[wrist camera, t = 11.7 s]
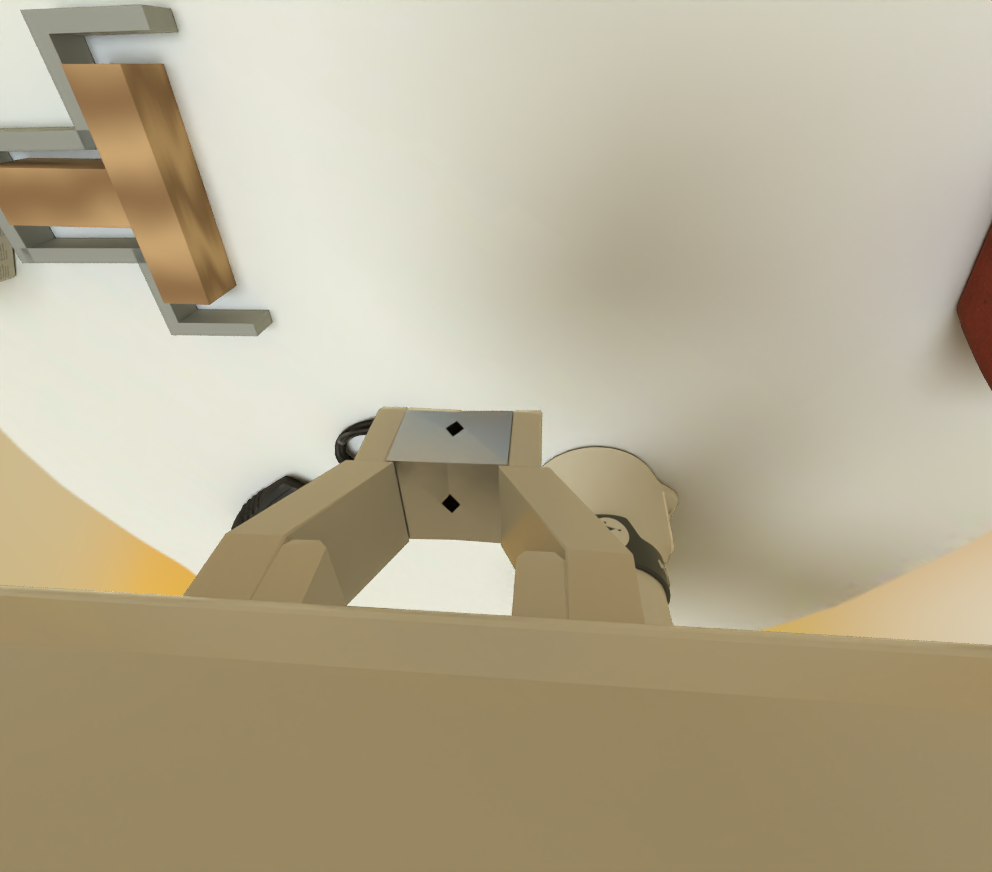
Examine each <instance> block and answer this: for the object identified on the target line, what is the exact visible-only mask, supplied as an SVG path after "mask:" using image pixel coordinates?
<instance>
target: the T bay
mask: <svg viewBox="0 0 992 872" xmlns="http://www.w3.org/2000/svg"><path fill="white" fill-rule="evenodd" d="M20 11H21V13H22V15H23V17H24V20H25V22H26V24H27V26H28V28H29V30H30V32H31V35H32V37H33V39H34V41H35V43H36V45H37V47H38V50H39V52H40V54H41V56H42V58H43V60H44V62H45V65H46V67H47V69H48V71H49V73H50V75H51V77H52V80H53V82H54V84H55V86H56V88H57V90H58V92H59V95H60V97H61V99H62V101H63V103H64V105H65V107H66V110H67V112H68V114H69V116H70V118H71V120H72V122H73V125H74V127H46V128H2V129H0V163H3V162H9V161H13V160H12V158H11V157H10V155H9V153H8V151H43V150H96V149H97V147H96V144H95V142H94V140H93V137H92V135H91V133H90V131H89V128H88V126H87V124H86V121H85V119H84V117H83V114H82V112H81V110H80V107H79V105H78V103H77V100H76V98H75V96H74V93H73V91H72V89H71V86H70V84H69V82H68V79H67V77H66V75H65V72H64V70H63V68H62V66H61V64H95V63H94V60H93V58H92V55H91V53H90V51H89V48H88V46H87V43H86V41H85V39H84V36H93V35H119V34H144V33H170V32H178V30H177V27H176V24H175V21H174V17H173V14H172V11H171V9H168V8H161V7H154V6H147V5H121V6H99V7H76V8H53V9H31V10H20ZM0 227H1V229H2V230H3V232H4V234H5V235H6V237H7V239H8V240H9V242H10V244H11V245H12V247H13V248H14V250H15V252H16V253H17V255H18V257H19V258H20V260H21V262H22V263H138V264H139V266H140V268H141V271H142V273H143V275H144V277H145V279H146V281H147V283H148V286H149V288H150V290H151V292H152V294H153V296H154V298H155V301H156V303H157V305H158V307H159V309H160V311H161V313H162V316H163V318H164V320H165V322H166V324H167V326H168V328H169V331H170V333H171V335H208V336H258V335H259V334H260V333H261V332H262V331H263V330H265V329H266V328H267V327H268V326H269V325H270V324H271V323H272V320H271V317H270V314H269V311H268V310H201V309H197V307H196V305H195V304H172V303H164V302H163V300H162V298H161V295H160V293H159V291H158V288H157V286H156V284H155V281H154V279H153V277H152V274H151V272H150V270H149V267H148V265H147V263H146V260H145V258H144V256H143V254H142V251H141V249H140V247H139V244H138V242H137V240H136V238H55V237H54V235H53V233H52V231H51V229H50V227H49V226H23V225H10V224H9V223H8V221H7V219H6V217H5V216H4V214H3V212H2V210H1V209H0Z"/></svg>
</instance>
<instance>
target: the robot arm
mask: <svg viewBox="0 0 992 872" xmlns="http://www.w3.org/2000/svg"><path fill="white" fill-rule="evenodd" d="M541 464H542V412H541V410H531V411H514V412H513V411H462V410H451V409H430V408H407V407H383V408H381V409H379V410H378V412H377V414H376V416H375V418H374V420H373V422H372V424H371V426H370V428H369V431H368V433H367V435H366V437H365V439H364V441H363V443H362V445H361V447H360V449H359V451H358V453H357V455H356V457H355V459H354V460H345V461H344V462H342V463H340V464H339V465H337V466H335V467H334V468H332V469H331V470H329V471H327V472H326V473H324V474H322V475H321V476H319V477H318V478H316V479H314V480H313V481H311V482H309V483H308V484H306V485H304V486H303V487H301V488H300V489H298V490H296V491H295V492H293V493H291V494H290V495H288V496H286V497H285V498H283V499H282V500H280V501H278V502H277V503H275V504H273V505H272V506H270V507H269V508H267V509H265V510H264V511H262V512H260V513H259V514H257V515H255V516H254V517H252V518H251V519H249V520H247V521H246V522H244V523H242V524H241V525H239V526H237V527H236V528H234V529H233V530H231V531H229V532H228V533H226V534H225V536H224V537H223V538H222V540H221V541H220V543H219V544H218V546H217V547H216V549H215V550H214V551H213V553H212V554H211V556H210V557H209V559H208V560H207V562H206V563H205V564H204V566H203V567H202V569H201V570H200V572H199V573H198V575H197V576H196V577H195V579H194V581H193V582H192V583H191V585H190V586H189V588H188V589H187V590H186V592H185V593H184V595H183V596H174V595H157V594H141V593H140V594H139V593H124V592H107V591H91V590H74V589H58V588H40V587H24V586H8V585H0V872H992V645H985V644H969V643H952V642H936V641H919V640H902V639H886V638H868V637H853V636H836V635H819V634H803V633H786V632H769V631H753V630H737V629H720V628H703V627H687V626H673V623H672V619H671V615H670V611H669V606H668V605H669V602H670V589H669V587H670V584H669V578H668V573H667V570H666V568H665V565H664V564H665V563H667V562H668V559H669V557H670V554H671V553H673V552H674V542H673V537H672V531H671V526H670V520H669V519H670V517H671V515H672V514H673V512H674V510H675V508H676V507H677V505H678V498H677V494H676V493H675V492H674V491H673V490H672V489H670V488H669V487H667V486H665V485H663V484H661V483H660V482H659V481H658V480H657V479H656V477H655V476H654V474H653V473H652V471H651V470H650V468H649V467H648V466H647V465H646V464H645V463H644V462H642V461H641V460H640V459H638V458H636V457H635V456H633V455H631V454H629V453H626V452H623V451H620V450H616V449H611V448H602V447H591V448H582V449H577V450H573V451H569V452H566V453H564V454H561V455H559V456H557V457H555V458H554V459H552V460H551V461H549V462H548V463H546V464H545V465H544V466H543V467H541ZM409 539H449V540H466V541H480V542H493V543H501V546H502V548H503V549H504V551H505V553H506V555H507V556H508V558H509V560H510V562H511V563H512V565H513V567H514V569H515V583H514V595H513V607H512V616H506V615H489V614H473V613H456V612H440V611H423V610H406V609H390V608H373V607H357V606H347V604H348V603H349V602H350V601H351V600H352V599H353V598H354V597H355V596H356V595H357V594H358V593H359V592H360V591H361V590H362V589H363V588H364V587H365V586H366V585H367V584H368V583H369V582H370V581H371V580H372V579H373V578H374V577H375V576H376V575H377V574H378V573H379V572H380V571H381V570H382V569H383V568H384V567H385V566H386V564H387V563H388V562H389V561H390V560H391V559H392V558H393V557H394V556H395V555H396V554H397V553H398V552H399V551H400V550H401V549H402V548H403V547H404V546H405V545H406V544H407V543H408V542H409Z"/></svg>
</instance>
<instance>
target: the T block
mask: <svg viewBox="0 0 992 872" xmlns="http://www.w3.org/2000/svg"><path fill="white" fill-rule="evenodd" d="M61 66H62V68H63V70H64V72H65V75H66V77H67V79H68V82H69V84H70V86H71V89H72V91H73V93H74V96H75V98H76V100H77V103H78V105H79V107H80V110H81V112H82V114H83V117H84V119H85V121H86V124H87V126H88V128H89V131H90V133H91V135H92V137H93V140H94V142H95V144H96V147H97V149H98V151H99V154H100V156H101V158H102V159H72V158H25V159H20V160H14V161H9V162H3V163H0V209H1V210H2V212H3V214H4V216H5V217H6V219H7V221H8V223H9V224H10V225H23V226H65V227H107V228H132V230H133V233H134V235H135V237H136V240H137V242H138V244H139V247H140V249H141V251H142V254H143V256H144V258H145V260H146V263H147V265H148V267H149V270H150V272H151V274H152V277H153V279H154V281H155V284H156V286H157V288H158V291H159V293H160V295H161V298H162V300H163V302H164V303H172V304H202V305H210V304H211V303H213V302H214V301H215V300H217V299H218V298H220V297H221V296H222V295H224V294H225V293H227V292H228V291H229V290H231V289H232V288H234V287H235V286H236V282H235V279H234V276H233V273H232V270H231V267H230V264H229V261H228V258H227V255H226V252H225V249H224V246H223V243H222V240H221V237H220V234H219V231H218V228H217V225H216V222H215V218H214V215H213V212H212V209H211V206H210V203H209V200H208V197H207V194H206V191H205V188H204V185H203V182H202V179H201V176H200V173H199V170H198V167H197V164H196V161H195V158H194V155H193V152H192V149H191V146H190V143H189V140H188V137H187V133H186V130H185V127H184V124H183V121H182V118H181V115H180V112H179V109H178V106H177V103H176V100H175V97H174V94H173V91H172V88H171V85H170V82H169V79H168V76H167V73H166V70H165V67H164V64H61Z"/></svg>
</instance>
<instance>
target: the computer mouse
mask: <svg viewBox="0 0 992 872" xmlns="http://www.w3.org/2000/svg"><path fill="white" fill-rule="evenodd" d="M372 422H373V420H371V421H365V422H360V423H357V424H355V425H353V426H351V427H349V428H348V429H346V430H344V431H343V432H342V433H341V434H340V435H339V437H338V439H337V440H336V444H335V456H336V458H337V460H338V462H339V463H342V462H344V461H345V460H354V458H352V457H351V456H350V455H349V454H348V453H347V452H346V449H345V447H346V444H347V442H348V441H349V440H350V439H351V438H353V437H355V436H358V435H367V433H368V431H369V428H370V426H371V424H372ZM304 485H306V484H304V483H302V482H300V481H298V480H295V479H293V478H290V477H288V476H285V477H283V478H281V479H280V480H278V481H276V482H275V483H273V484H272V485H270V486H269V487H267V488H266V489H264V490H261V491H260V492H258V494H257V495H254V496H253V497H252V499H249V500H248V501H247V503H245V504H244V505H243V507H242V509H241V511H240V512H239V514H238V515H237V517H236V519H235V521H234V523H233V526H232V529H231V530H233V529H234V528H236V527H237V526H239V525H241V524H242V523H244V522H246V521H247V520H249V519H251V518H252V517H254V516H255V515H257V514H259V513H260V512H262V511H264V510H265V509H267V508H269V507H270V506H272V505H273V504H275V503H277V502H278V501H280V500H282V499H283V498H285V497H286V496H288V495H290V494H291V493H293V492H295V491H296V490H298V489H300V488H301V487H303V486H304Z"/></svg>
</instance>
